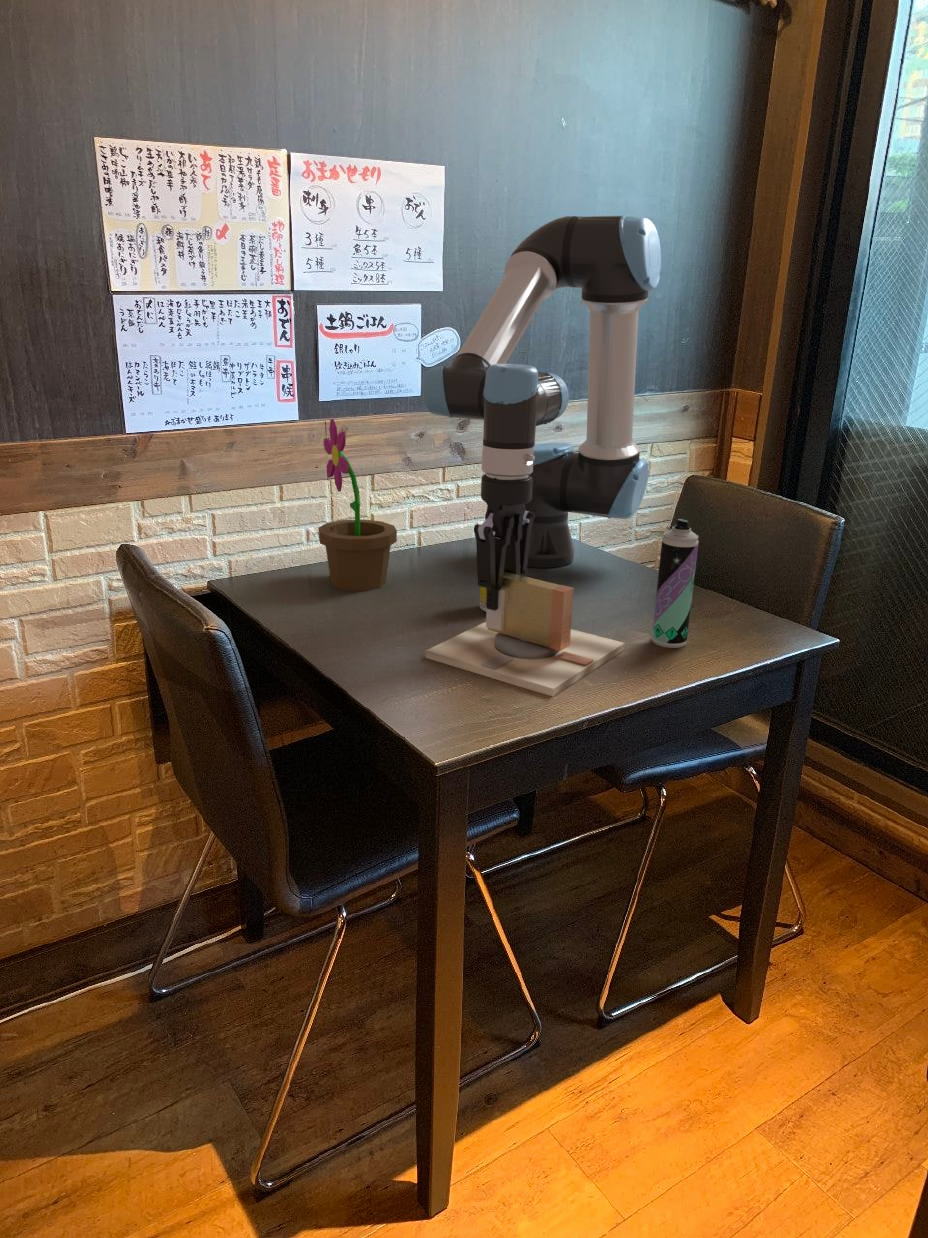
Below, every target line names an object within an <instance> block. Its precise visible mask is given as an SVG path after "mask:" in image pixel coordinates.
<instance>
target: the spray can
mask: <svg viewBox="0 0 928 1238" xmlns="http://www.w3.org/2000/svg"><path fill="white" fill-rule="evenodd" d="M671 527H672V528H671V529H669V530H668V531H665V532H663V535H662V536H663V537H662V538H661V548H660V558H659V566H658V577H657V585H656V596H655V605H654V613H653V624H652V634H651V635H652V636H651V641H652V643H654V644H655V645H656V646H660V647H662V648H669V649H670V648H671V649H673V648H675V649H677V648H678V649H679V648H682V647H683V648H684V646H687V642H688V635H689V633H688V632H689V626H690V625H689V624H690V618H691V617H690V616H691V606H692V600H693V592H694V584H695V574H696V567H697V558H698V550H699V549H698V548H699V535H698V534H696V533H695V532H693V531H692V528H691V527H690V525H689V521H688V520H687V519H685V518H677V520H676V524H675V525H674V526H671Z"/></svg>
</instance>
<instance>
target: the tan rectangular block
mask: <svg viewBox="0 0 928 1238" xmlns="http://www.w3.org/2000/svg"><path fill="white" fill-rule="evenodd" d="M502 588H503V589H505V602H504V624H503V630H501V631H500V630H496V629H492V628H489V627H488V630H491V631H494V632H498V633H501V634H505V635H508V636H512V637H515V638H518V639H519V640H520V641H523V642H532V643H536V644H539V645H543V646H546V647H549V648H551V649H555V650H558V651H561V650H563V649H565V648H567V647H569V646H570V635H571V629H572V622H573V621H572V620H573V619H572V618H573V607H574V605H573V604H574V593H575V592H574V590H575V587H571V586H569V585H568V586H566V585H564V584H559V583H558V584H557V583H554V582H549V581H545V580H542V579H537V578H533V577H529V576H526V575H517V574H513V573H509V572H505V571H504V573H503V581H502Z"/></svg>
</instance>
